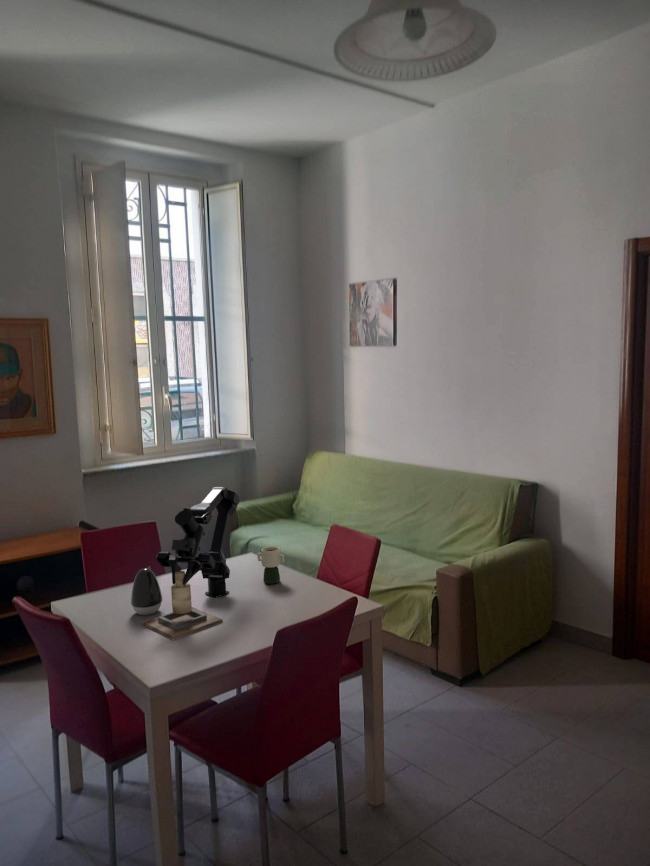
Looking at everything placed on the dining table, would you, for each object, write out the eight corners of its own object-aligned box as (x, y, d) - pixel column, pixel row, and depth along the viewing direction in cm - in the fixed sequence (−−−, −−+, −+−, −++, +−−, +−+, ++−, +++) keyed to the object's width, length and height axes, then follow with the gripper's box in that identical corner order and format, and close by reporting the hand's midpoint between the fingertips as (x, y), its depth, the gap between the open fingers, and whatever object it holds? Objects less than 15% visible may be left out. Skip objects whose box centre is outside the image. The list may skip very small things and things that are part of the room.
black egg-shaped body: (166, 606, 228) (163, 563, 227) (158, 617, 218) (155, 572, 216) (137, 606, 229) (134, 564, 227) (127, 618, 218) (124, 573, 217)
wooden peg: (171, 608, 214) (169, 571, 212) (190, 605, 216) (188, 568, 214) (173, 615, 208) (171, 576, 207) (193, 612, 210) (190, 573, 209)
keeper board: (143, 625, 212) (142, 617, 212) (190, 608, 225) (189, 601, 225) (174, 639, 200) (173, 631, 199) (222, 621, 212) (221, 614, 212)
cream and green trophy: (288, 580, 251) (287, 547, 250) (281, 586, 245) (280, 552, 243) (262, 578, 255) (261, 545, 254) (254, 584, 248) (253, 550, 247)
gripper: (156, 527, 215) (141, 571, 206) (209, 529, 211) (196, 573, 201) (169, 544, 224) (155, 587, 214) (220, 546, 219) (209, 590, 209)
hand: (178, 584), depth 209 cm, fingers closed on wooden peg, 3 cm apart
